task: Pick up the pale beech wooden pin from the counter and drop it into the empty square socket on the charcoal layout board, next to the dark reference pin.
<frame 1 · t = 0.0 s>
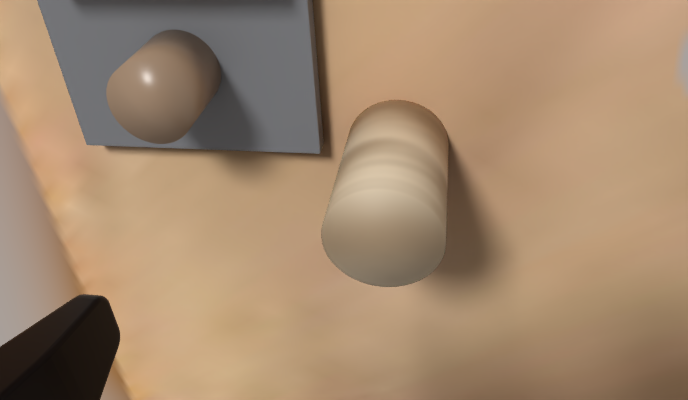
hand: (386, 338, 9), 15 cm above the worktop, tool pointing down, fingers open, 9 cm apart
pin: (397, 145, 24), on the worktop
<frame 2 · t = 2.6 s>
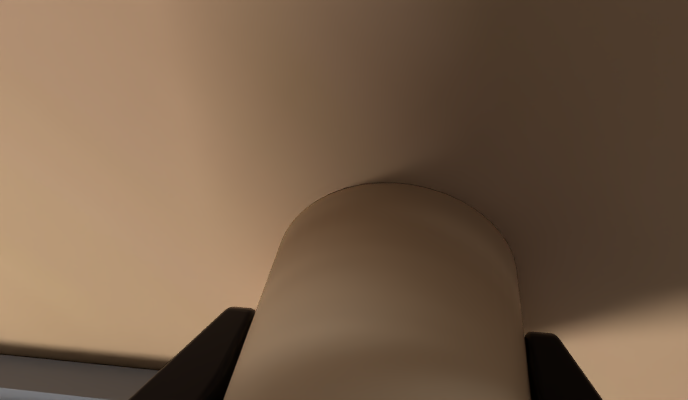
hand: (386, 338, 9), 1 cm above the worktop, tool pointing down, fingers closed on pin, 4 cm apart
pin: (393, 281, 10), on the worktop, touching gripper
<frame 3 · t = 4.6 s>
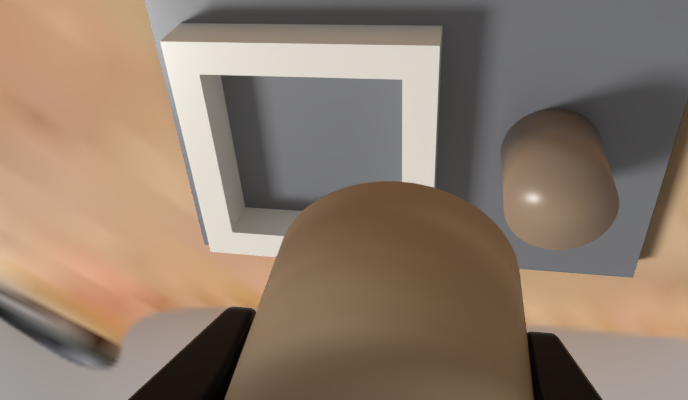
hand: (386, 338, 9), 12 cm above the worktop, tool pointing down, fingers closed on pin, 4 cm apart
pin: (395, 280, 10), point 11 cm above the worktop, touching gripper
layout board: (408, 132, 20), on the worktop
when the fingers open (4 cm above the worktop, at t = 6.9 s): pin drops 2 cm, resting on layout board.
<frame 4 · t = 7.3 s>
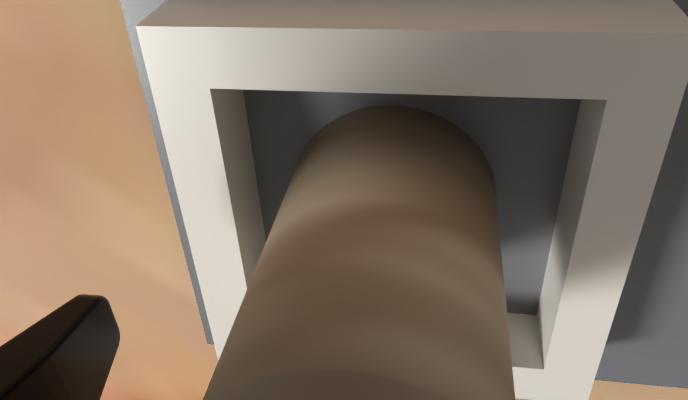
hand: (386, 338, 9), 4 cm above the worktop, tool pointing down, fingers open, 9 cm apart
pin: (392, 196, 12), point 1 cm above the worktop, touching layout board
layout board: (553, 183, 12), on the worktop
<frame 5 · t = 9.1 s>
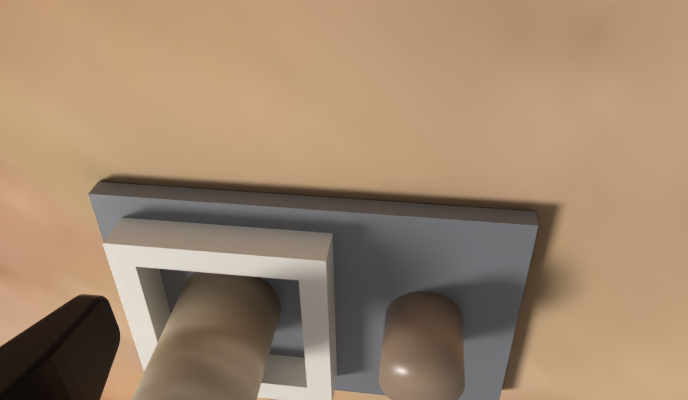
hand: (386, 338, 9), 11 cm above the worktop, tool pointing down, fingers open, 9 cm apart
pin: (231, 302, 24), point 1 cm above the worktop, touching layout board
layout board: (313, 295, 25), on the worktop
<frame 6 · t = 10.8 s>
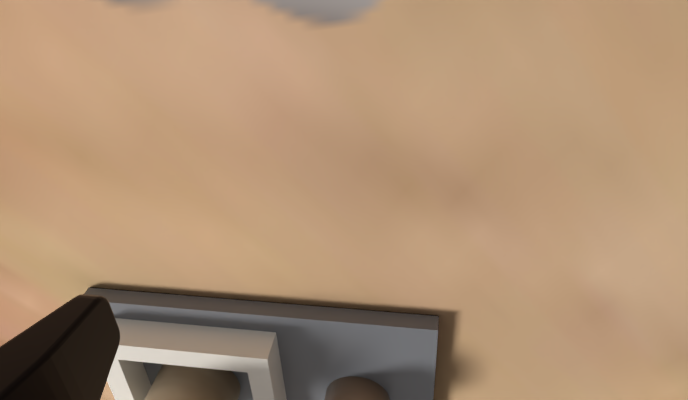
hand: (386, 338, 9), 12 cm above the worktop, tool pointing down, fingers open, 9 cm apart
pin: (200, 381, 29), point 1 cm above the worktop, touching layout board
layout board: (268, 374, 30), on the worktop
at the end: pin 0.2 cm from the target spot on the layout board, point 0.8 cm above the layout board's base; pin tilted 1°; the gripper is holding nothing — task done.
